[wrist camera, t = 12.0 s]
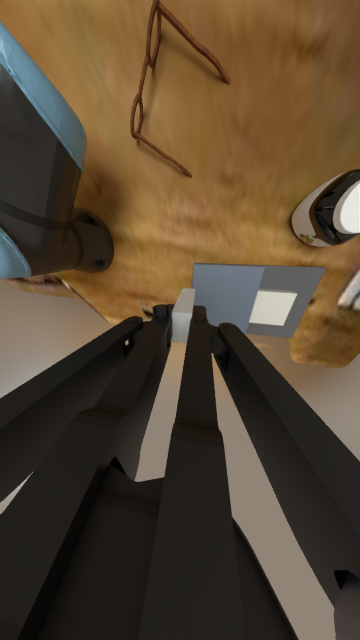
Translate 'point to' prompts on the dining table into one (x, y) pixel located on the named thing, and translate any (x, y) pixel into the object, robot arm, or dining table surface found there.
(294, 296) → the coaster
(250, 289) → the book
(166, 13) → the glasses
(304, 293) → the mat
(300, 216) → the spread jar
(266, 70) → the dining table surface
